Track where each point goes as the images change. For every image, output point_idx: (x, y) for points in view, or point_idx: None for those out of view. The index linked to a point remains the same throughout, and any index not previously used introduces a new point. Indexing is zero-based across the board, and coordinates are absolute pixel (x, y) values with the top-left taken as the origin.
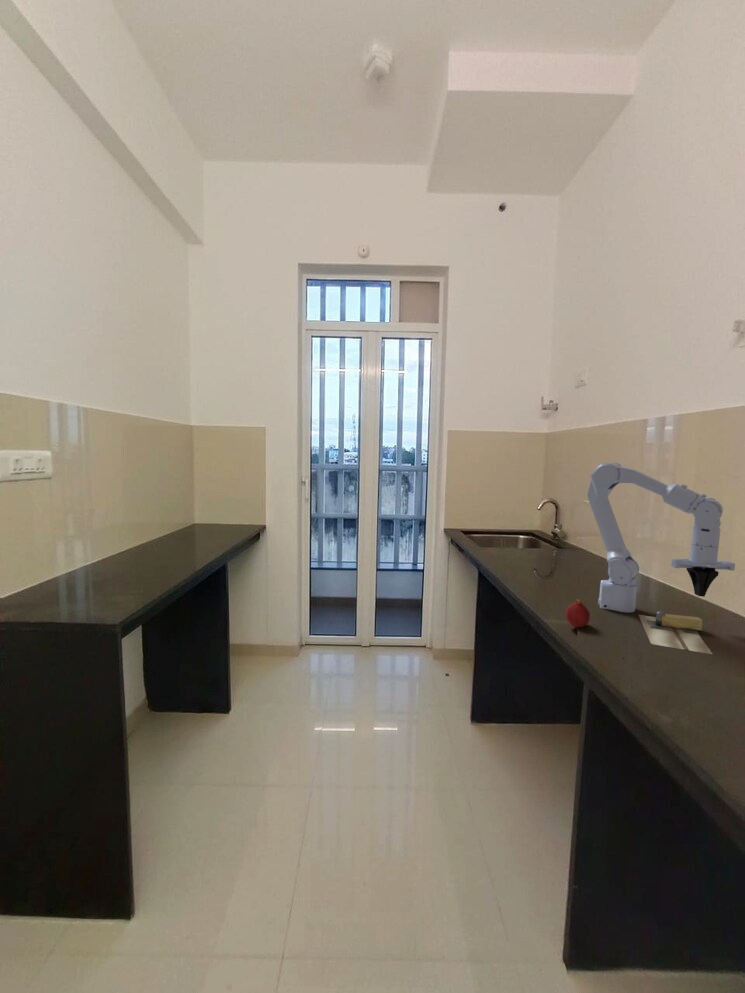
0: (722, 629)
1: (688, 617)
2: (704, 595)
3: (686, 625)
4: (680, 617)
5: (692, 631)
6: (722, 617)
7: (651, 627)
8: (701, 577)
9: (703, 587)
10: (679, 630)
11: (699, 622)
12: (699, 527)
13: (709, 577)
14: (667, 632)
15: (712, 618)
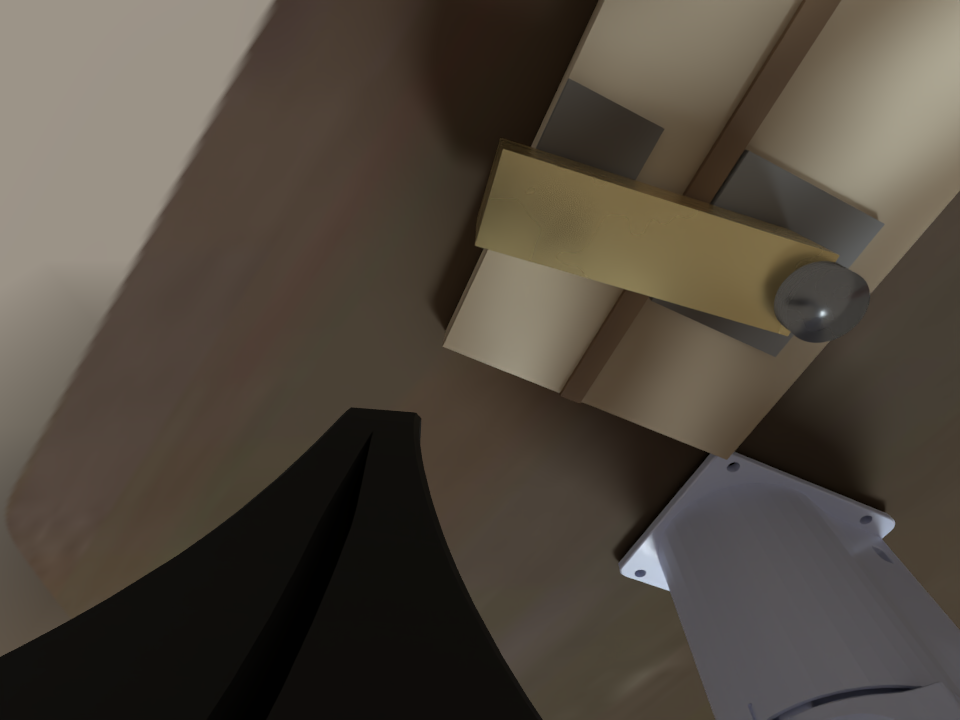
0: (223, 291)
1: (587, 237)
2: (352, 412)
3: (622, 180)
4: (673, 233)
5: (591, 127)
6: (109, 480)
7: (875, 218)
8: (438, 669)
9: (369, 484)
10: (670, 170)
11: (528, 154)
12: None
13: (198, 665)
14: (823, 118)
15: (185, 464)
